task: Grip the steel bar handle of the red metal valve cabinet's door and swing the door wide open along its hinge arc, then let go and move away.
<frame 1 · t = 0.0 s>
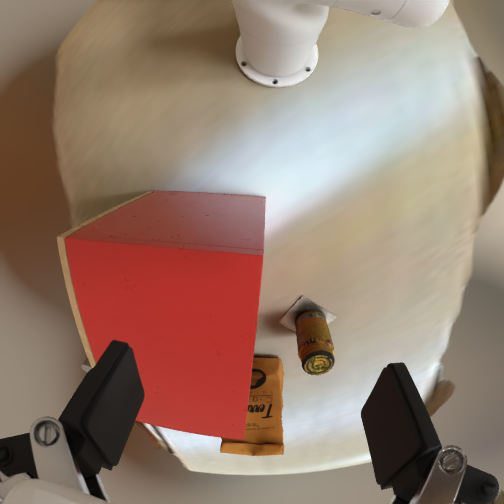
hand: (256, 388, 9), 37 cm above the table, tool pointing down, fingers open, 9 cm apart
door: (108, 293, 37), point 12 cm above the table, hinge at 0.0°
coffee package: (254, 367, 57), on the table
condiment: (307, 318, 51), on the table
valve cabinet: (207, 268, 48), on the table
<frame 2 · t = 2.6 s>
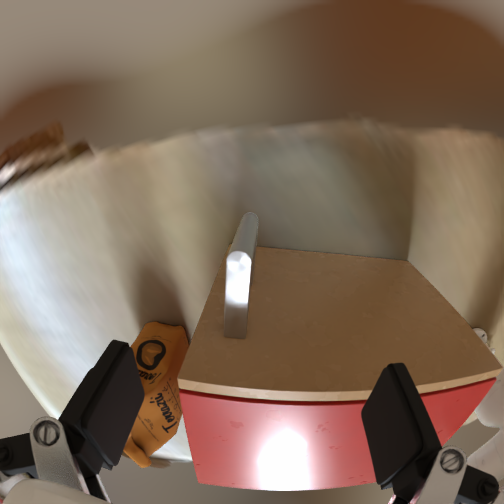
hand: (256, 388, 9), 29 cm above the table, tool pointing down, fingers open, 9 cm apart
door: (354, 270, 25), point 12 cm above the table, hinge at 0.0°
coffee package: (170, 346, 46), on the table
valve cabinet: (313, 314, 41), on the table
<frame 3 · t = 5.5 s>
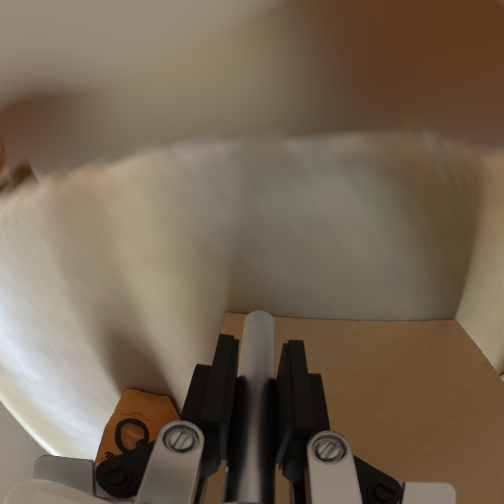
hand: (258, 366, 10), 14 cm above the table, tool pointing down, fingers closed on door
door: (418, 389, 13), point 12 cm above the table, hinge at 0.0°, touching gripper
coffee package: (157, 412, 34), on the table
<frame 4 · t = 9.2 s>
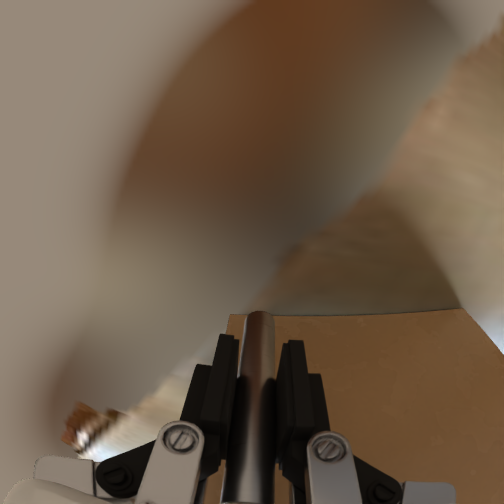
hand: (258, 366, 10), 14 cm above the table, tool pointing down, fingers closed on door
door: (425, 382, 13), point 12 cm above the table, hinge at 40.6°, touching gripper
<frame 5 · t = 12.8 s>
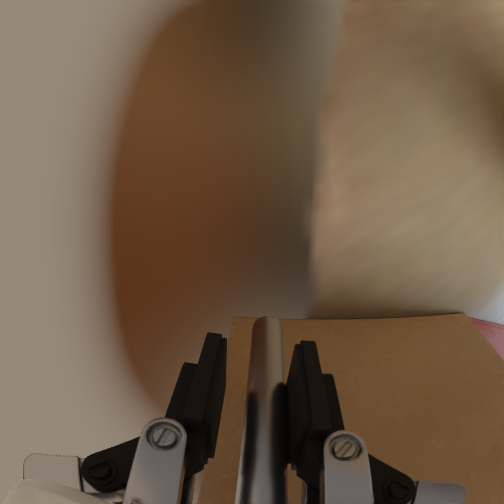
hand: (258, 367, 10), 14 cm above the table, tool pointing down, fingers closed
door: (428, 387, 13), point 12 cm above the table, hinge at 76.4°, touching gripper
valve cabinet: (450, 392, 30), on the table
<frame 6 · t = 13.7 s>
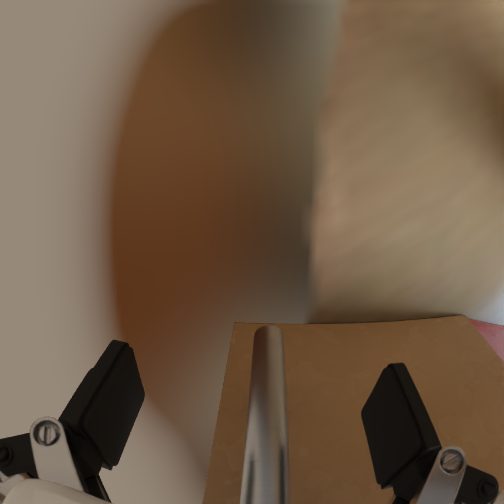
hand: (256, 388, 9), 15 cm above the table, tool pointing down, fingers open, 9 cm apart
door: (428, 391, 13), point 12 cm above the table, hinge at 76.4°
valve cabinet: (451, 393, 30), on the table
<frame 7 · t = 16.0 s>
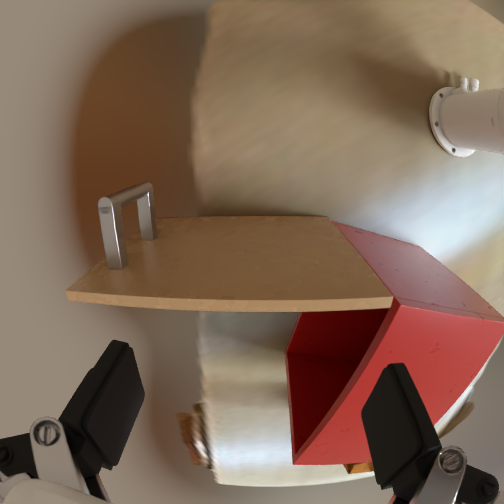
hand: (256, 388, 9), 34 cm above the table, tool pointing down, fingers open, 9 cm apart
door: (229, 216, 29), point 12 cm above the table, hinge at 76.4°
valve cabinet: (353, 303, 46), on the table
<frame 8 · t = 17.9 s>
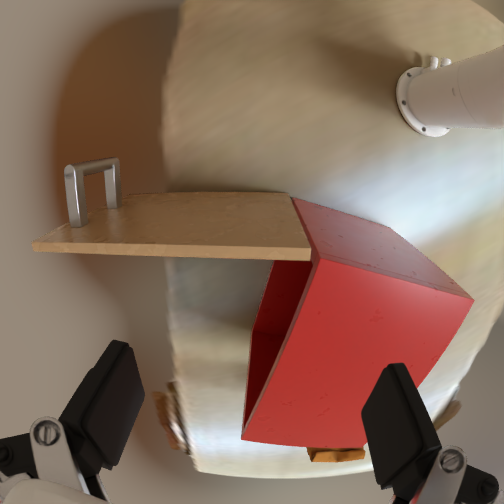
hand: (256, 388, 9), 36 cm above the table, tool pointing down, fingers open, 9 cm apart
door: (179, 184, 31), point 12 cm above the table, hinge at 76.4°
coffee package: (322, 378, 57), on the table
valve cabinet: (319, 283, 48), on the table
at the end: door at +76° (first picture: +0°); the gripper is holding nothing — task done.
